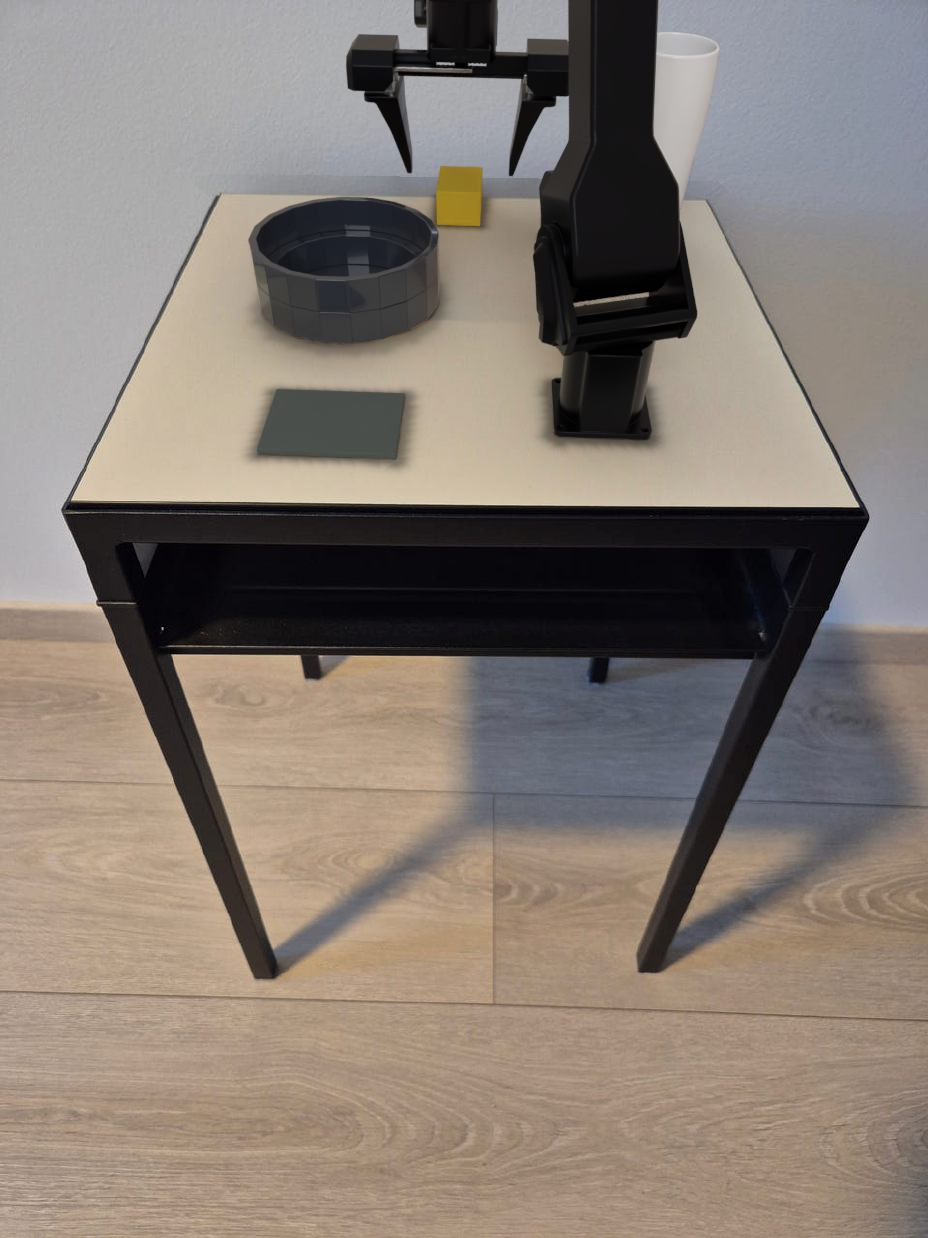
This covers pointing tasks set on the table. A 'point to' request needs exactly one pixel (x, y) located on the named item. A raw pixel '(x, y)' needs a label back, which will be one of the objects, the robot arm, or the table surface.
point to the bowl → (346, 269)
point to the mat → (333, 424)
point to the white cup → (682, 98)
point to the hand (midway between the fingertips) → (460, 172)
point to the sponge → (459, 196)
